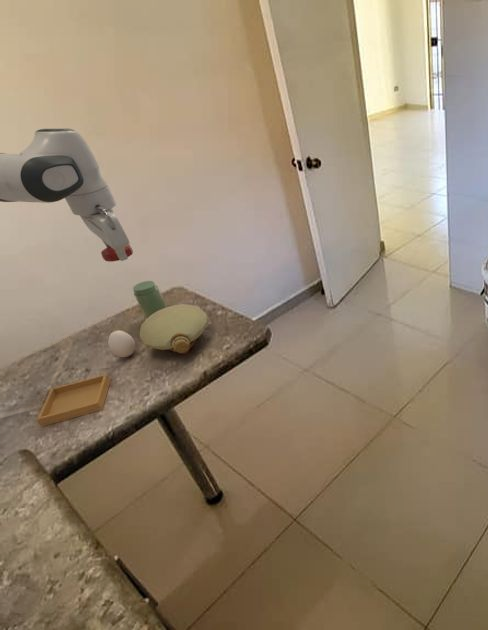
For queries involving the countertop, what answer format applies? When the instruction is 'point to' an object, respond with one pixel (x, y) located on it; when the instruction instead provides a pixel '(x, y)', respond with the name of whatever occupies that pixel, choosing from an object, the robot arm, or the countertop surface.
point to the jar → (149, 297)
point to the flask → (174, 328)
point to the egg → (121, 343)
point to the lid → (114, 253)
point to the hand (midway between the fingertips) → (118, 255)
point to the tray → (74, 400)
